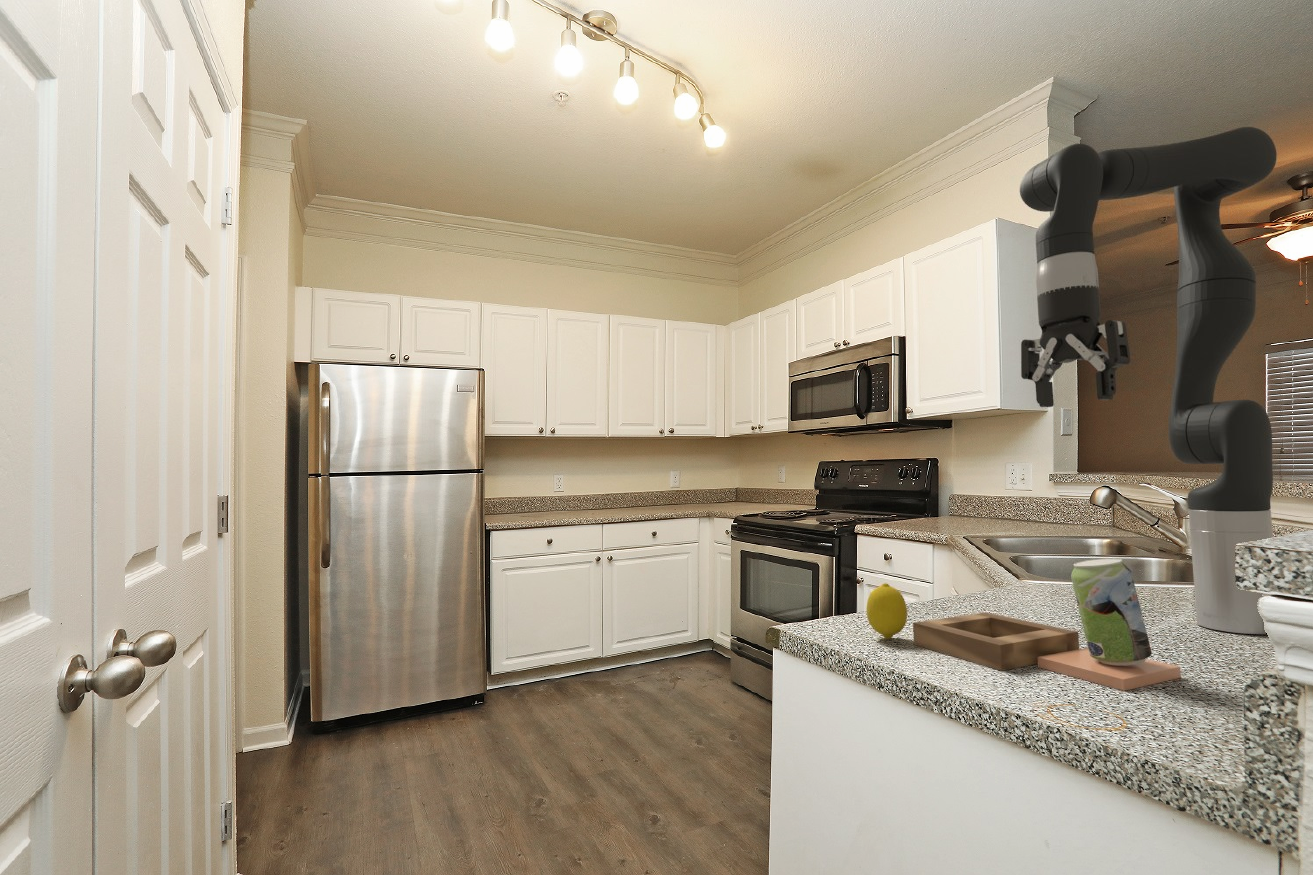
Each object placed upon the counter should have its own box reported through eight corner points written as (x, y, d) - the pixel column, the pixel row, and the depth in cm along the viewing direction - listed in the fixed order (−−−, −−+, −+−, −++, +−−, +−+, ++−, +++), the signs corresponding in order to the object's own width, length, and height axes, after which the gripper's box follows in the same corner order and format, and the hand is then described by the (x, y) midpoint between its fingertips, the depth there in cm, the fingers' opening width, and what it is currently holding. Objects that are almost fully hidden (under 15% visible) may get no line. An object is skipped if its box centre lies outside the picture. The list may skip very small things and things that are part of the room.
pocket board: (986, 632, 97) (985, 612, 97) (1079, 655, 84) (1078, 631, 84) (914, 644, 92) (912, 622, 92) (1001, 670, 79) (999, 645, 79)
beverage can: (1164, 671, 73) (1156, 562, 74) (1090, 669, 74) (1083, 562, 75) (1135, 656, 79) (1128, 555, 80) (1067, 654, 80) (1061, 555, 81)
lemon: (893, 646, 91) (890, 587, 91) (859, 638, 95) (857, 583, 96) (916, 639, 94) (913, 583, 95) (882, 632, 99) (880, 579, 99)
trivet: (1092, 656, 84) (1092, 646, 84) (1180, 677, 74) (1180, 666, 74) (1038, 666, 80) (1037, 656, 80) (1123, 690, 70) (1123, 679, 71)
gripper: (1136, 279, 89) (1145, 398, 88) (1039, 305, 102) (1045, 409, 101) (1100, 273, 86) (1108, 396, 85) (1004, 301, 99) (1011, 408, 98)
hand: (1074, 403), depth 93 cm, fingers open, 8 cm apart
